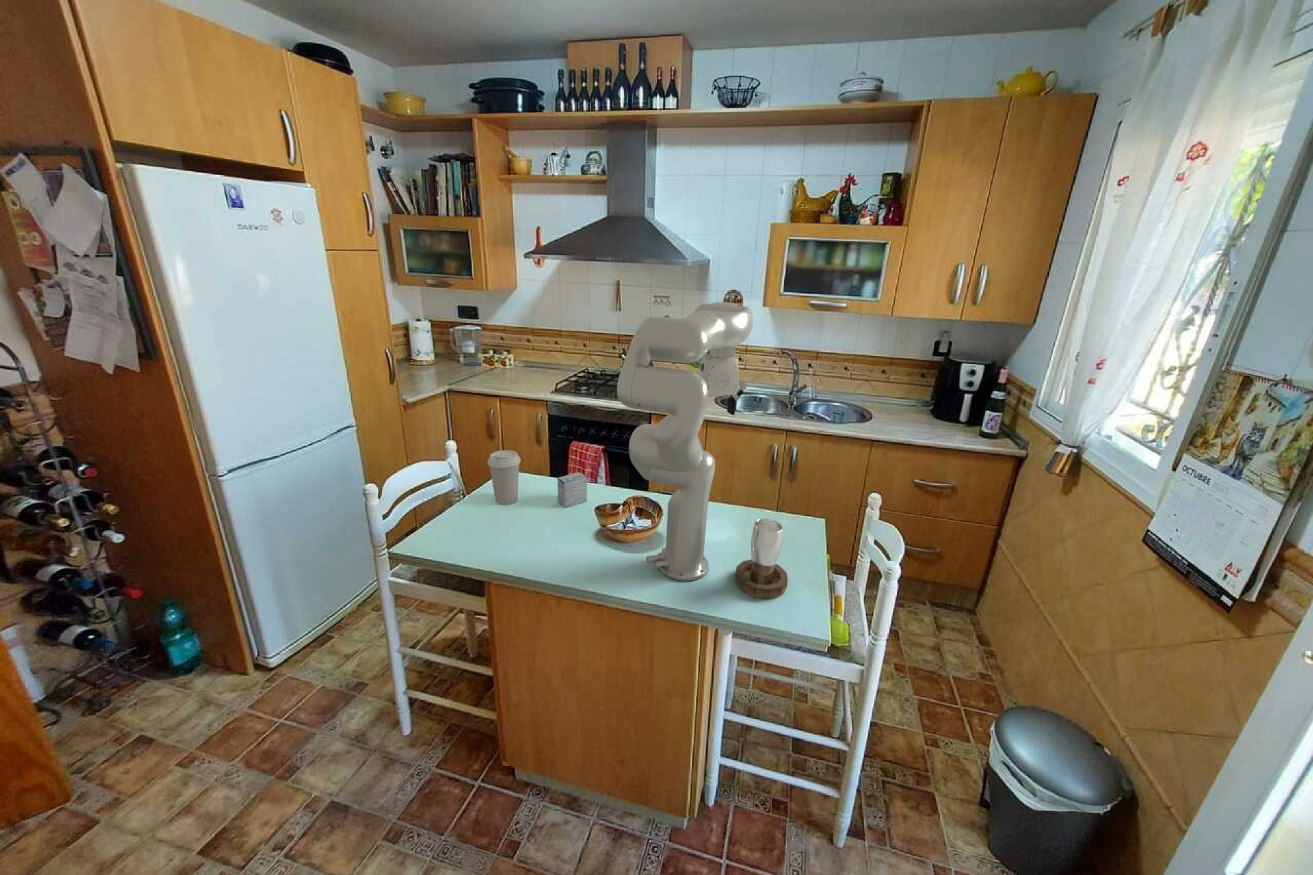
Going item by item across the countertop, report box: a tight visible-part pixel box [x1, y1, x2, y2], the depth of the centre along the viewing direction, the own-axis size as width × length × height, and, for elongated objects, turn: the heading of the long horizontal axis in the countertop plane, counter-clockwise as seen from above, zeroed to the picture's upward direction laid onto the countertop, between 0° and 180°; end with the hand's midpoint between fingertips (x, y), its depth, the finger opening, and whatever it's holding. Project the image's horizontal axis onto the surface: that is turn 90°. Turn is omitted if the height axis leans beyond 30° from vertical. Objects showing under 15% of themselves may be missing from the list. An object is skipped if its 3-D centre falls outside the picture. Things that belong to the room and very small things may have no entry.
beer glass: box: [748, 518, 784, 585], centre depth 122 cm, size 7×7×15 cm
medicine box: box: [557, 472, 588, 509], centre depth 158 cm, size 8×4×9 cm, turn 130°
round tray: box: [734, 558, 789, 600], centre depth 124 cm, size 12×12×3 cm
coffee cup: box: [487, 449, 522, 506], centre depth 156 cm, size 10×10×15 cm
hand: (714, 414), depth 139 cm, fingers open, 9 cm apart
